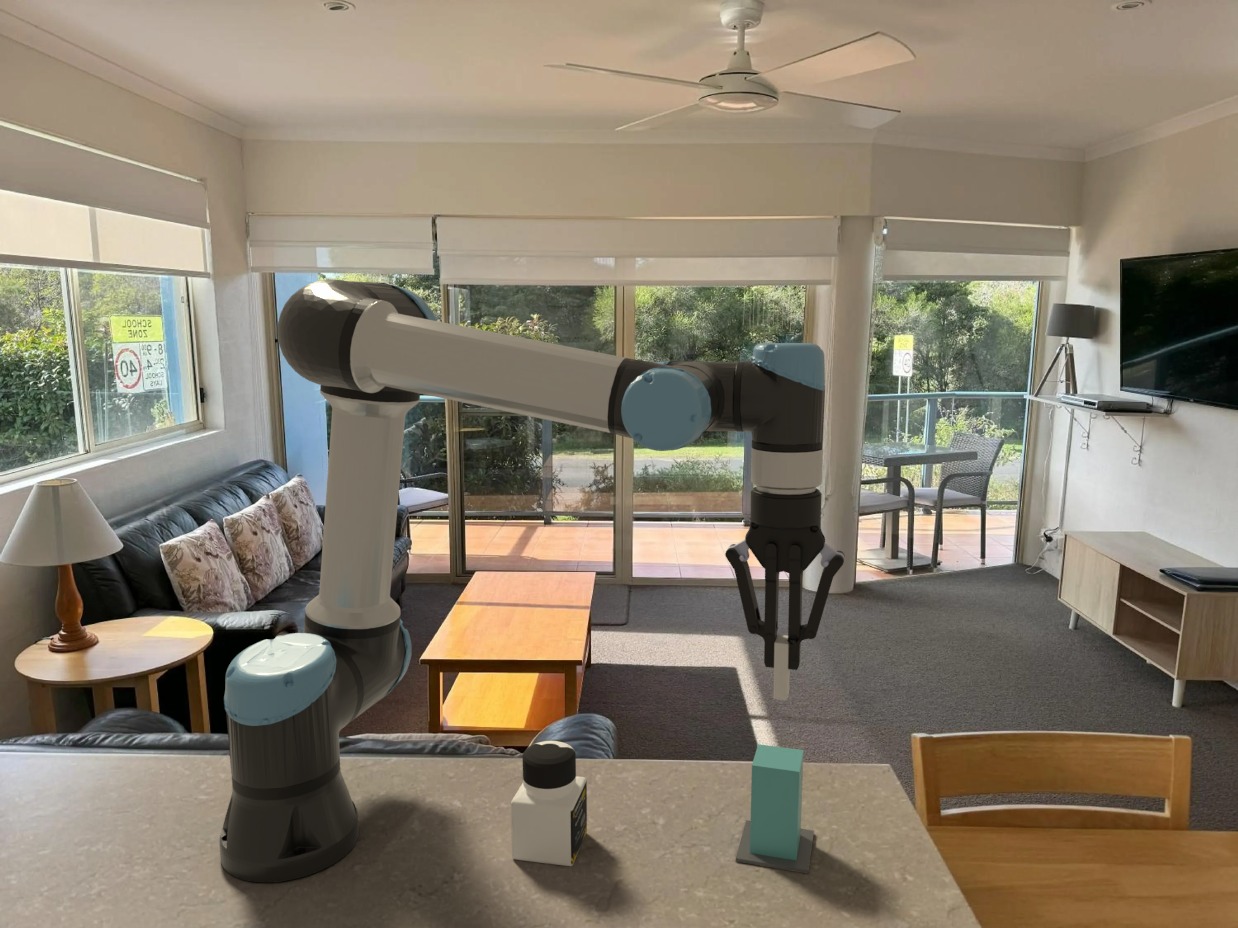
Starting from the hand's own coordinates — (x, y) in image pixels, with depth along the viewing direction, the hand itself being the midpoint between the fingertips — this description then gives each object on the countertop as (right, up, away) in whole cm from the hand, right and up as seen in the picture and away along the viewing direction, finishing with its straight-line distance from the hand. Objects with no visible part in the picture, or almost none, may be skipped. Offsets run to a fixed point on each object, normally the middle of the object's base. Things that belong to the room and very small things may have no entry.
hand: (781, 694), depth 99 cm
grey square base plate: (0, -18, +3) cm, 19 cm away
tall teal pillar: (0, -18, +3) cm, 18 cm away
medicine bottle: (-26, -19, +3) cm, 32 cm away
